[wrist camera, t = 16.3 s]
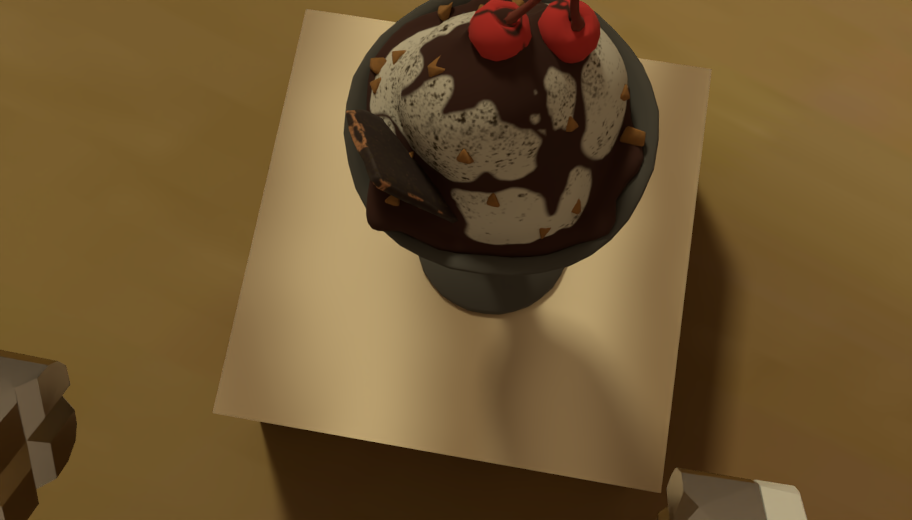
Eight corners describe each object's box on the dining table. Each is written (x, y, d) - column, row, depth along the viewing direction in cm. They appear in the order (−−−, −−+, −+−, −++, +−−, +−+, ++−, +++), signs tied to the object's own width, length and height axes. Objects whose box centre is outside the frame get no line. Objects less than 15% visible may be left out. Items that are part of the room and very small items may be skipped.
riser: (259, 420, 33) (212, 413, 27) (333, 81, 36) (306, 8, 30) (627, 486, 32) (661, 492, 26) (672, 133, 35) (711, 69, 29)
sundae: (604, 151, 29) (735, -165, 14) (584, 353, 27) (708, 233, 13) (407, 129, 29) (335, -202, 14) (377, 327, 28) (263, 181, 13)
